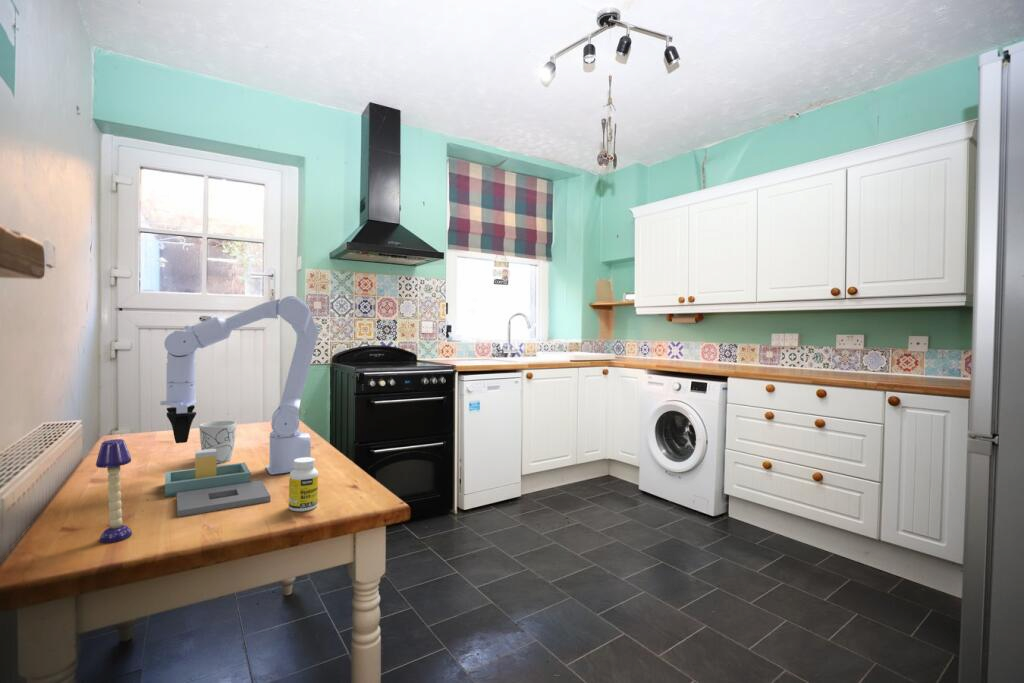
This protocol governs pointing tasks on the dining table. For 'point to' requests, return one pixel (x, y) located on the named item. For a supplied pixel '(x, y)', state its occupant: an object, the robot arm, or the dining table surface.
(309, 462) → the supplement bottle
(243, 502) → the socket block
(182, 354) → the robot arm
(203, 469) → the block
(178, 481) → the parts tray
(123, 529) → the toy lamp
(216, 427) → the mug
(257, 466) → the dining table surface
